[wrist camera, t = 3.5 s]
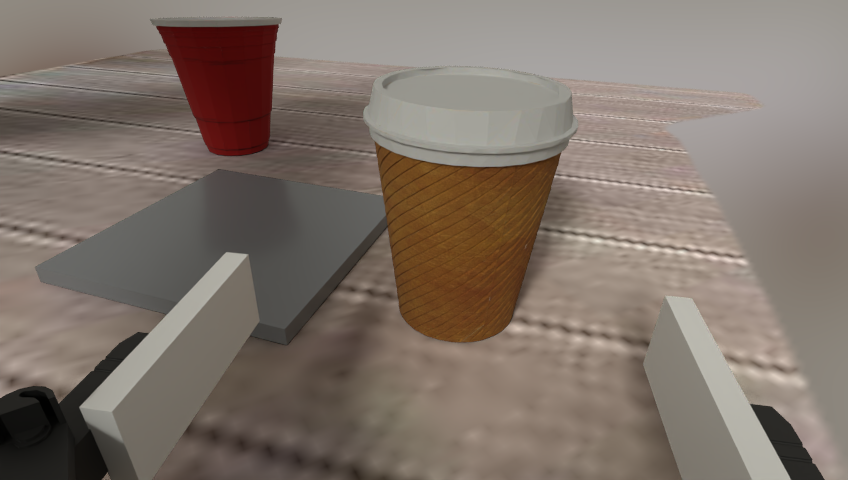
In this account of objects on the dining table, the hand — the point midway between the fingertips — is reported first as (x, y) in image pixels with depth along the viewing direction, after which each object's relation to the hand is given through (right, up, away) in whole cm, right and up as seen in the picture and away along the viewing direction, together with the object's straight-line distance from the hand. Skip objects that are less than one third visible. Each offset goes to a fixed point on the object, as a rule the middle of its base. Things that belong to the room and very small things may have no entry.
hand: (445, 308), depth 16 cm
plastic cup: (-19, +11, +34) cm, 40 cm away
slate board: (-13, +2, +17) cm, 21 cm away
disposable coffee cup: (+1, -2, +12) cm, 12 cm away
